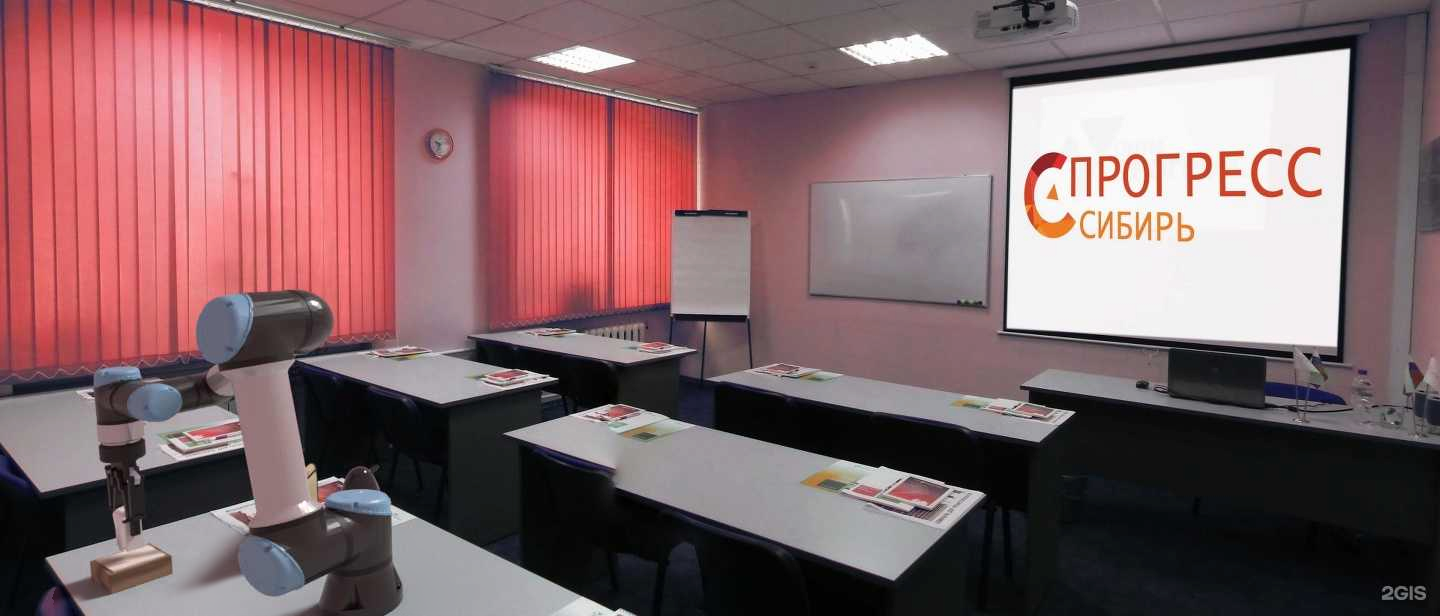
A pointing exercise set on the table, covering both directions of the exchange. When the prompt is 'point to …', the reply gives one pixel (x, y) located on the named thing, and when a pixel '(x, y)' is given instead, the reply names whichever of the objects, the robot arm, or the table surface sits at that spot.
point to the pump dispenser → (361, 479)
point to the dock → (131, 568)
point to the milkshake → (120, 527)
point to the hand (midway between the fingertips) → (129, 545)
